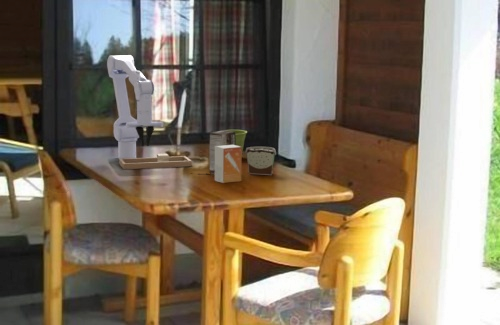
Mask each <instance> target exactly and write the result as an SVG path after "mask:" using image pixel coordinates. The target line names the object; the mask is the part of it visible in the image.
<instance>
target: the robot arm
mask: <svg viewBox="0 0 500 325" xmlns="http://www.w3.org/2000/svg"><path fill="white" fill-rule="evenodd" d="M134 60H135V59H134V57H133V56H132V55H131V54H128V55H109V56H108V58H107V63H106V67H107V73H108V76H109V78H111V79H112V83H113V89H114V95H115V100H116V106H117V112H118V113H117V114H118V118H117V119H116V120H115V121H114V123H113V137H114V138H115V140H116V141H118V142H117V143H118V144H117V146H118V147H117V149H118V153H117V156H118V160H119V159H128V158H137V141H138V139H139V141H140V146H141V147H144V145H146V146H147V147H149V146H150V142H151V138H152V135H153V133H154V131H155V128H164V121H153V115H152V114H153V108H152V107H153V106H152V105H153V104H152V103H153V102H152V95H154V93H155V85H154V84H155V83H154V82H153V80H151V79H147V78H146V76H144V74H143V73H142V71H140V70H137V69H136V66H135V61H134ZM127 78H128V81H129V82H130V84H131V85H132V86H133V89H134V94H135V100H136V108H137V109H136V114H137V117H136V118H134V117H133V116H132V114H131V107H130V103H129V102H130V101H129V97H128V96H129V95H128V89H127V83H126V79H127ZM143 128H145V130H144V129H143ZM144 133H146V134H145V135H146V138H145V139H146V140H145V142H146V144H144Z"/></svg>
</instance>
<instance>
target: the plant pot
mask: <svg viewBox="0 0 500 325" xmlns="http://www.w3.org/2000/svg"><path fill="white" fill-rule="evenodd" d="M226 130H227V131H233V132H235V138H236V146H240V147H242V153H243V150H244V144H245V139H246V137H247V136H246V135H247V133H248V131H247V130H242V129H226ZM242 156H243V154H242V155H241V158H242Z"/></svg>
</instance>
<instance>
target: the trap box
mask: <svg viewBox="0 0 500 325" xmlns="http://www.w3.org/2000/svg"><path fill="white" fill-rule="evenodd" d="M118 160H119V162H118V163H119V166H120V167H121V168H122V169H123V170H133V169H135V170H136V169H159V168H176V167H177V168H178V167H192V166H193V164H192V163H193V160H192V159H190V158H189V157H187V156H186V155H180V156H169V162H157V156H155V157H136V158H128V159H119V158H118Z"/></svg>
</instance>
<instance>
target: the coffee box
mask: <svg viewBox="0 0 500 325" xmlns="http://www.w3.org/2000/svg"><path fill="white" fill-rule="evenodd" d="M227 130H228V129H223V130H218V131H213V132H209V174H210V175H215V146H223V145H236V138H235V132H233V131H227Z"/></svg>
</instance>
